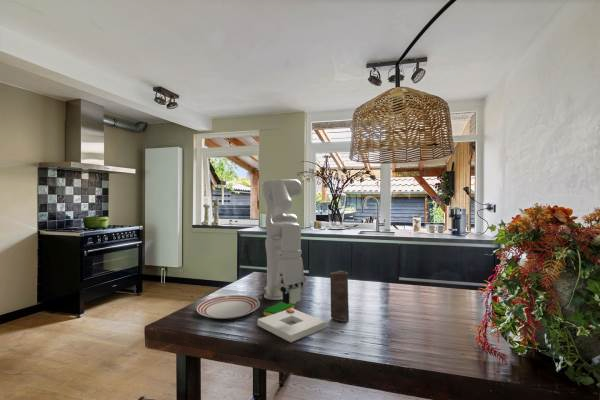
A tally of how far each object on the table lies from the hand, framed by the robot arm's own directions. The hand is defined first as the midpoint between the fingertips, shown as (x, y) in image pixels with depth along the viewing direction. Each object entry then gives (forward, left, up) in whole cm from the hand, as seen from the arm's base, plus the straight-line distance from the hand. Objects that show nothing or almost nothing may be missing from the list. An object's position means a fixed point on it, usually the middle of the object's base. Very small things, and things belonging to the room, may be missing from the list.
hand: (291, 301), depth 120 cm
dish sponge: (-17, +7, -11) cm, 21 cm away
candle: (+8, +19, -10) cm, 23 cm away
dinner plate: (-32, -9, -11) cm, 35 cm away
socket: (0, 0, -10) cm, 10 cm away
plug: (0, 0, -1) cm, 1 cm away
